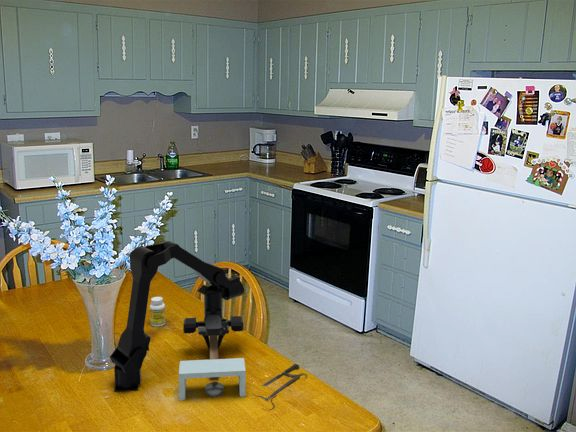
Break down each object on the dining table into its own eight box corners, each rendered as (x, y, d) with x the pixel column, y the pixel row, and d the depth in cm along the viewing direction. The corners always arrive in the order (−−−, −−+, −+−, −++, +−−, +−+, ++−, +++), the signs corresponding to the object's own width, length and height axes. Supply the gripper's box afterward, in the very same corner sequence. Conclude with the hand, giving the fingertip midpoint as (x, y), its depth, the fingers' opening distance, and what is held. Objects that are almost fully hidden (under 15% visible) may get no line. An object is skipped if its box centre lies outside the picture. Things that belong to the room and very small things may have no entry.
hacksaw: (295, 366, 169) (295, 361, 169) (322, 377, 163) (322, 373, 163) (240, 399, 151) (240, 394, 151) (268, 413, 145) (268, 408, 145)
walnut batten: (210, 380, 159) (209, 364, 158) (209, 346, 179) (209, 332, 178) (218, 379, 160) (218, 364, 159) (217, 346, 179) (217, 332, 178)
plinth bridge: (179, 400, 149) (178, 373, 147) (180, 386, 156) (180, 360, 154) (245, 396, 152) (245, 370, 150) (243, 383, 158) (243, 358, 156)
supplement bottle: (163, 319, 198) (162, 294, 196) (167, 325, 194) (166, 300, 191) (148, 322, 196) (147, 297, 194) (152, 328, 191) (151, 302, 189)
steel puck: (205, 398, 151) (205, 392, 150) (205, 388, 155) (205, 382, 155) (223, 397, 151) (223, 391, 151) (223, 387, 156) (223, 381, 156)
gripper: (181, 315, 163) (183, 362, 167) (244, 313, 165) (244, 360, 169) (183, 300, 173) (184, 345, 177) (242, 299, 176) (242, 343, 180)
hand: (213, 348), depth 176 cm, fingers closed on walnut batten, 2 cm apart
